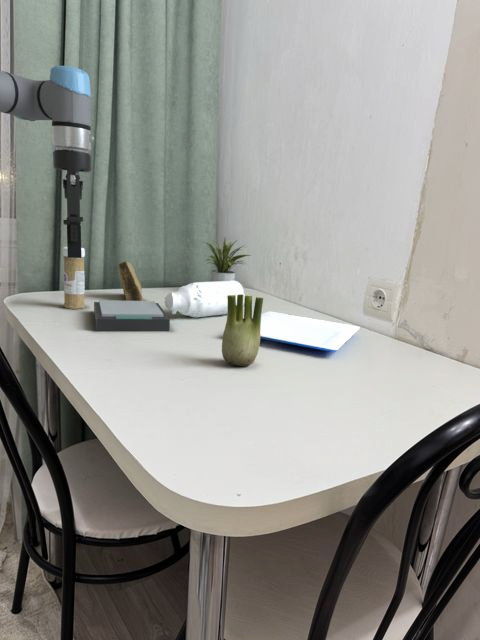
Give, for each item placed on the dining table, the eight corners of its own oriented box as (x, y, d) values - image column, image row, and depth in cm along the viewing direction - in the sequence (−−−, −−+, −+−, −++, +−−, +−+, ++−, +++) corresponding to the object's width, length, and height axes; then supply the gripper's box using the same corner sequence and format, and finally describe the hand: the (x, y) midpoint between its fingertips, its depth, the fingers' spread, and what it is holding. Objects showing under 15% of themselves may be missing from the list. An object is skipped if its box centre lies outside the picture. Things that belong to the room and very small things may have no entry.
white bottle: (158, 315, 114) (159, 280, 112) (223, 309, 127) (225, 277, 125) (177, 323, 109) (179, 287, 106) (244, 316, 121) (246, 283, 119)
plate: (359, 335, 113) (360, 326, 113) (335, 359, 93) (337, 349, 92) (266, 319, 121) (267, 310, 120) (226, 338, 100) (226, 328, 100)
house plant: (214, 299, 139) (218, 238, 134) (186, 289, 149) (189, 233, 144) (253, 296, 148) (258, 239, 144) (224, 287, 158) (228, 234, 153)
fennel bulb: (259, 363, 87) (266, 294, 83) (250, 371, 82) (256, 299, 79) (228, 357, 88) (233, 289, 85) (217, 365, 84) (222, 293, 81)
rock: (115, 284, 134) (100, 284, 125) (136, 260, 133) (122, 258, 123) (145, 312, 135) (132, 314, 125) (166, 288, 133) (154, 289, 123)
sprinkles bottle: (59, 306, 114) (58, 246, 110) (76, 304, 118) (76, 246, 114) (72, 310, 112) (71, 248, 108) (89, 307, 116) (89, 248, 112)
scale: (93, 312, 112) (93, 299, 111) (157, 313, 117) (158, 300, 116) (96, 331, 97) (96, 315, 97) (169, 330, 102) (170, 316, 101)
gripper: (93, 148, 96) (94, 261, 101) (89, 156, 118) (90, 248, 124) (50, 143, 93) (54, 259, 99) (54, 152, 116) (57, 247, 121)
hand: (74, 253), depth 111 cm, fingers open, 13 cm apart
